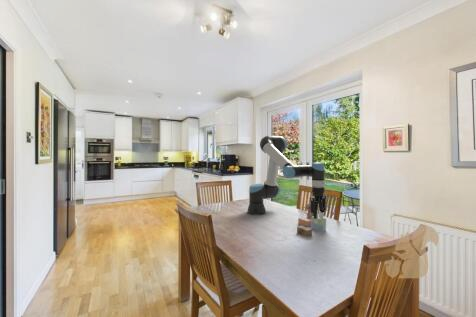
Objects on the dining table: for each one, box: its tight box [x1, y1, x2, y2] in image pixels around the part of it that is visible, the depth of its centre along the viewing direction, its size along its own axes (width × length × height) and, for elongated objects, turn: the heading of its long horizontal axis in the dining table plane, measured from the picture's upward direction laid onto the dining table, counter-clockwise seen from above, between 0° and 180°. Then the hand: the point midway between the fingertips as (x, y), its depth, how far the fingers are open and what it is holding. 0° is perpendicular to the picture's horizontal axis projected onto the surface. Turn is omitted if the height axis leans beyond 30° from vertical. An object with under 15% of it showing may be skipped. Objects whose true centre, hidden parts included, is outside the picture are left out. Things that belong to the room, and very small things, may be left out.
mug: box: [302, 203, 319, 221], centre depth 161 cm, size 12×9×11 cm
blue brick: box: [310, 222, 327, 233], centre depth 140 cm, size 8×4×4 cm, turn 42°
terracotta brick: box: [297, 217, 312, 228], centre depth 150 cm, size 8×4×4 cm, turn 31°
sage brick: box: [311, 215, 327, 226], centre depth 140 cm, size 8×4×4 cm, turn 31°
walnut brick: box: [296, 225, 313, 238], centre depth 132 cm, size 8×4×4 cm, turn 31°
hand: (318, 222), depth 140 cm, fingers closed on sage brick, 4 cm apart
